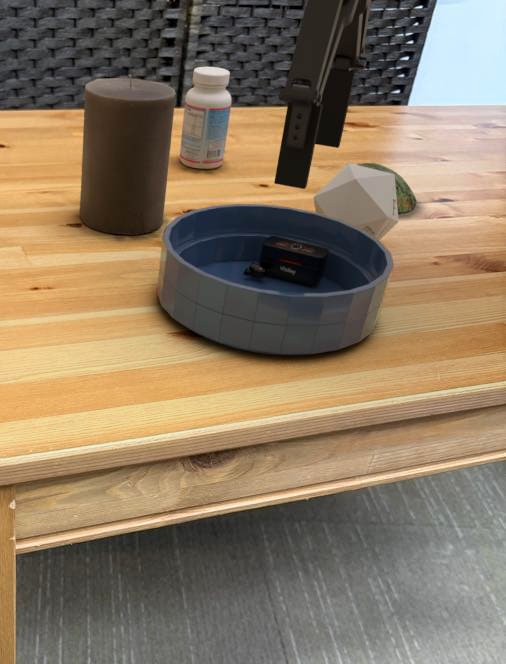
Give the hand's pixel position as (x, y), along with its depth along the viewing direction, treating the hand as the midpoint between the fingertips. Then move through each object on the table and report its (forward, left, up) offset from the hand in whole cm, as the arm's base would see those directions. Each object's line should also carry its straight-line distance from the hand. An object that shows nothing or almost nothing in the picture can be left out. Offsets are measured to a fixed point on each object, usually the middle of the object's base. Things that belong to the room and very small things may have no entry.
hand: (308, 164), depth 76 cm
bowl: (0, +6, -12) cm, 13 cm away
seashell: (-4, -31, -12) cm, 34 cm away
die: (-4, -14, -12) cm, 19 cm away
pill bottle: (+20, -32, -12) cm, 40 cm away
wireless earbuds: (0, 0, -11) cm, 11 cm away
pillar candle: (+21, -7, -12) cm, 26 cm away
